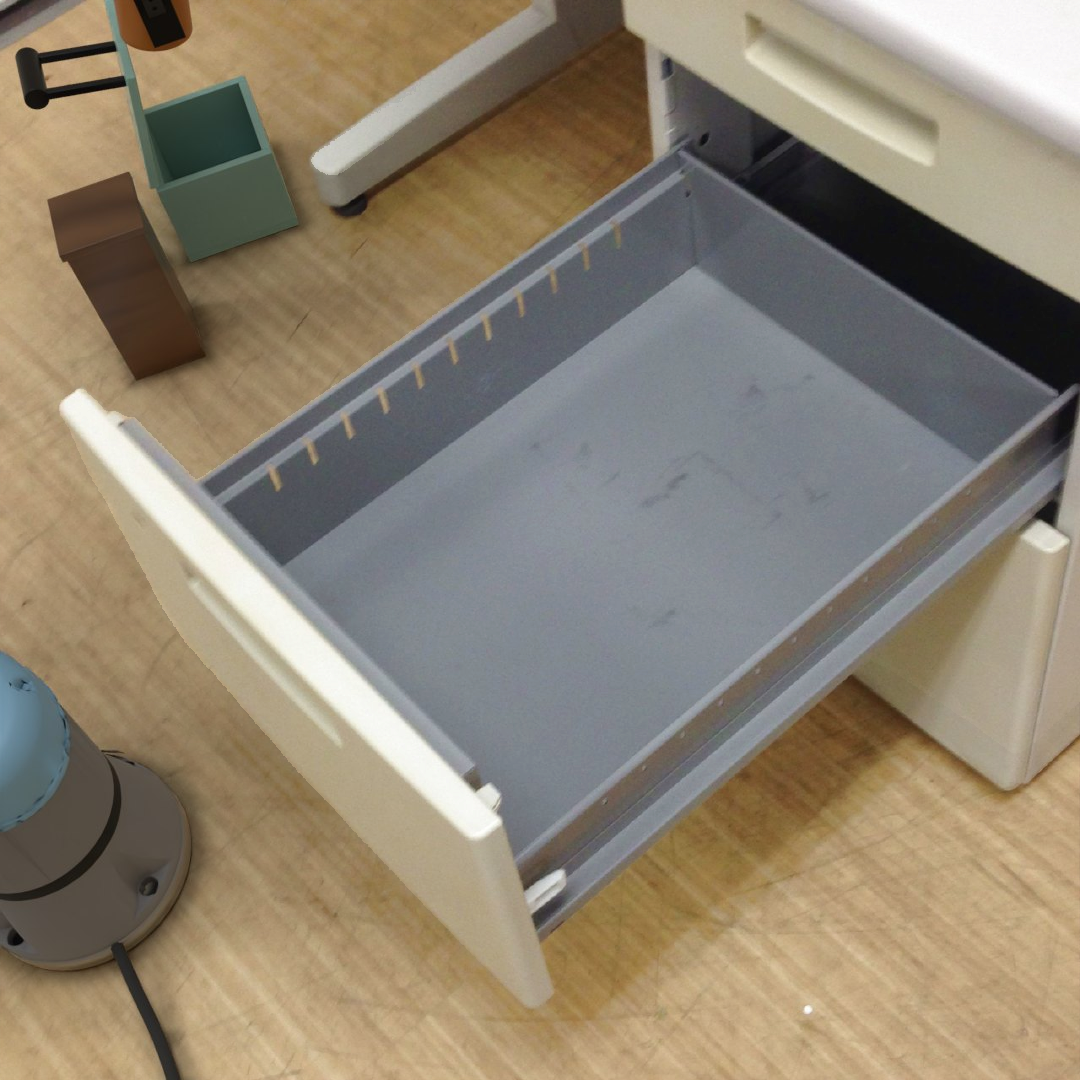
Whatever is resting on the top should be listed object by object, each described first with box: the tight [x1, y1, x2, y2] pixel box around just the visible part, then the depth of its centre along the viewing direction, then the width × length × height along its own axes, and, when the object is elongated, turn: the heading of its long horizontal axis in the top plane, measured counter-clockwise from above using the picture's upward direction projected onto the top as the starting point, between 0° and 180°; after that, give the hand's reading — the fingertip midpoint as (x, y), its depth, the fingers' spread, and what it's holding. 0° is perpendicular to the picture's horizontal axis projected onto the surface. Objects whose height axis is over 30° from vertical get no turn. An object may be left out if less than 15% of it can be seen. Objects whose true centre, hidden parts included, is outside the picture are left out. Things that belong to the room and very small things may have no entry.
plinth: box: [46, 171, 206, 381], centre depth 128 cm, size 7×7×16 cm
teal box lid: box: [14, 0, 159, 190], centre depth 130 cm, size 11×12×9 cm
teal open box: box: [143, 74, 300, 263], centre depth 140 cm, size 11×12×9 cm
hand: (161, 16), depth 126 cm, fingers closed on amber jar, 6 cm apart
